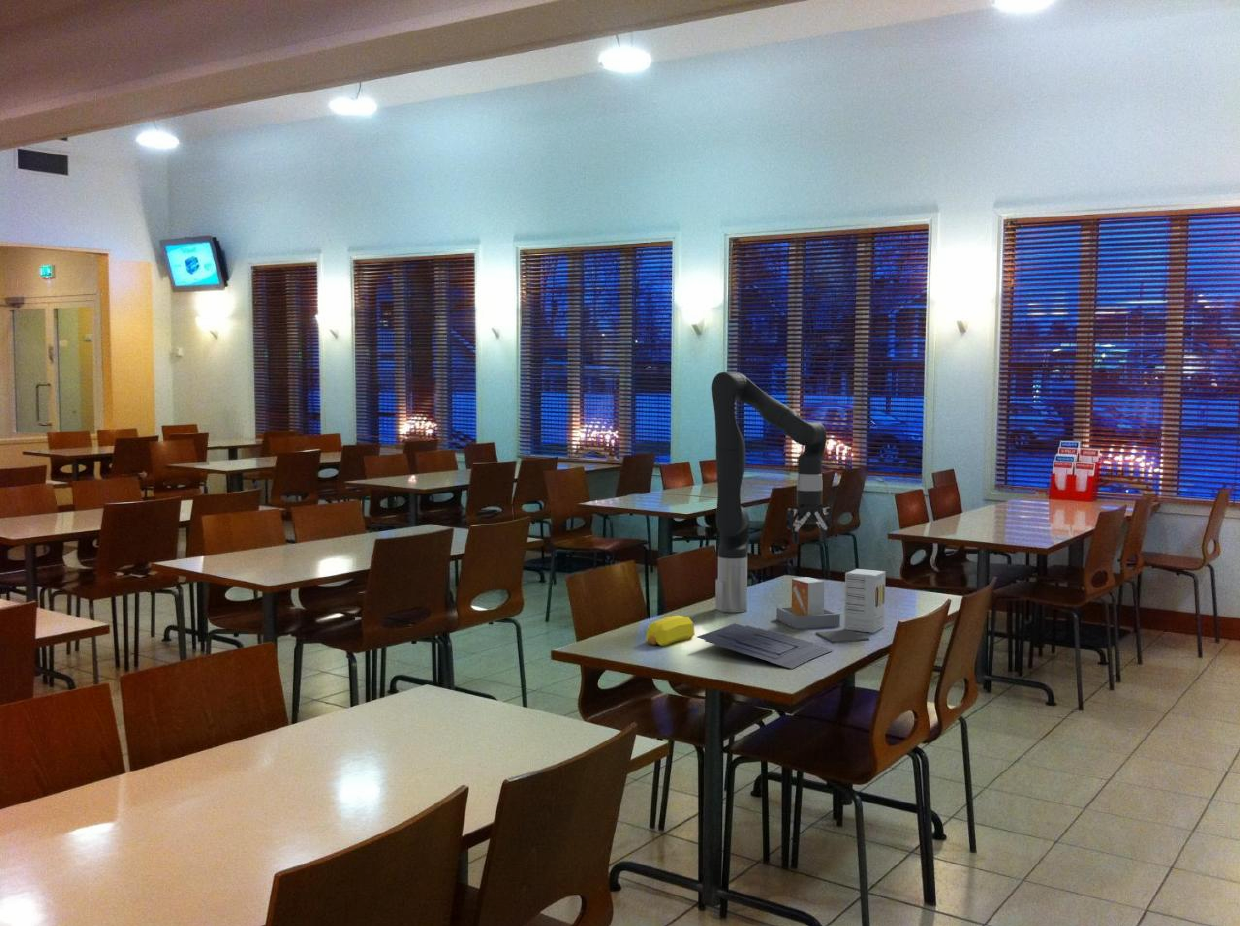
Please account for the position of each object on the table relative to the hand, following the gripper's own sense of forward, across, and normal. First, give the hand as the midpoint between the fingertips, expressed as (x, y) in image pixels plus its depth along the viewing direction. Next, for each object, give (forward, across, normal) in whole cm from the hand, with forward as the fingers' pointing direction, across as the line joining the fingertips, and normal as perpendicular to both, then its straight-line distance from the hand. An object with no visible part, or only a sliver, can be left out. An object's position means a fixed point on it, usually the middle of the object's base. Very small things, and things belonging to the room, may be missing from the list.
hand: (809, 542), depth 328 cm
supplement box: (+24, +12, -12) cm, 30 cm away
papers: (+25, -28, -29) cm, 47 cm away
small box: (+24, 0, 0) cm, 24 cm away
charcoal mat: (+24, 0, -20) cm, 32 cm away
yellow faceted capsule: (+25, -47, -10) cm, 54 cm away
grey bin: (+24, 0, 0) cm, 24 cm away
